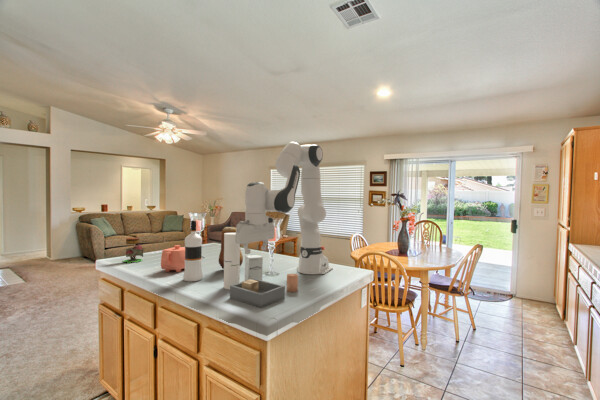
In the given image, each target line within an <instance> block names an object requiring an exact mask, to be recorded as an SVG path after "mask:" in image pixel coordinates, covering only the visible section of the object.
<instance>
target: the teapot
mask: <svg viewBox="0 0 600 400" xmlns="http://www.w3.org/2000/svg"><path fill="white" fill-rule="evenodd" d="M160 258H161V259H160V268H161V270H165V271H166V272H171V271H175V273H182V270H185V246H181V245H180V244H176V245H175V244H174V247H169V248H165V249H162V252H161V257H160ZM165 271H164V272H165Z"/></svg>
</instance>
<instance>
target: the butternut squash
mask: <svg viewBox="0 0 600 400" xmlns="http://www.w3.org/2000/svg"><path fill="white" fill-rule="evenodd" d="M224 233H236V227H234V226H225V227H223V229H221V233H220V235H221V237H220V238H221V240H220V241H221V242H220V252H219V255H218V264H219V265H220V267H221V268H222V269H223V270H224ZM241 245H242V244H240V246H241ZM243 262H244V255H243V253H242V250H241V249H240V267H241V266H242V264H243Z"/></svg>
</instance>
